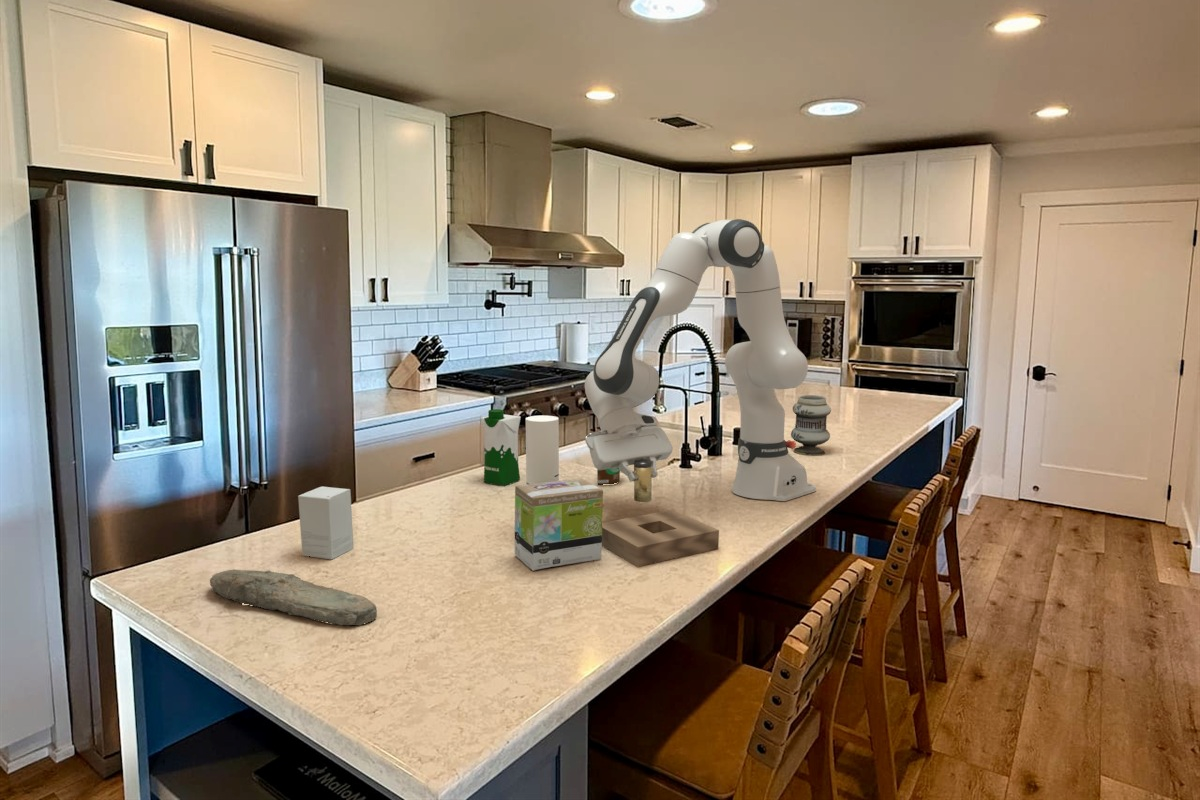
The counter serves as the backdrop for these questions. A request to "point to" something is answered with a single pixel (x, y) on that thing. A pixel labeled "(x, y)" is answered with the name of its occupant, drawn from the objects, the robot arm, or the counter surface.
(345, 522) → the supplement box
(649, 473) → the spice jar
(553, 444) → the cylindrical container
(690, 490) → the counter surface
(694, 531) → the socket block
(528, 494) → the tea box
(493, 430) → the milk carton
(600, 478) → the food container
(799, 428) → the apothecary jar
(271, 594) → the elongated rock
